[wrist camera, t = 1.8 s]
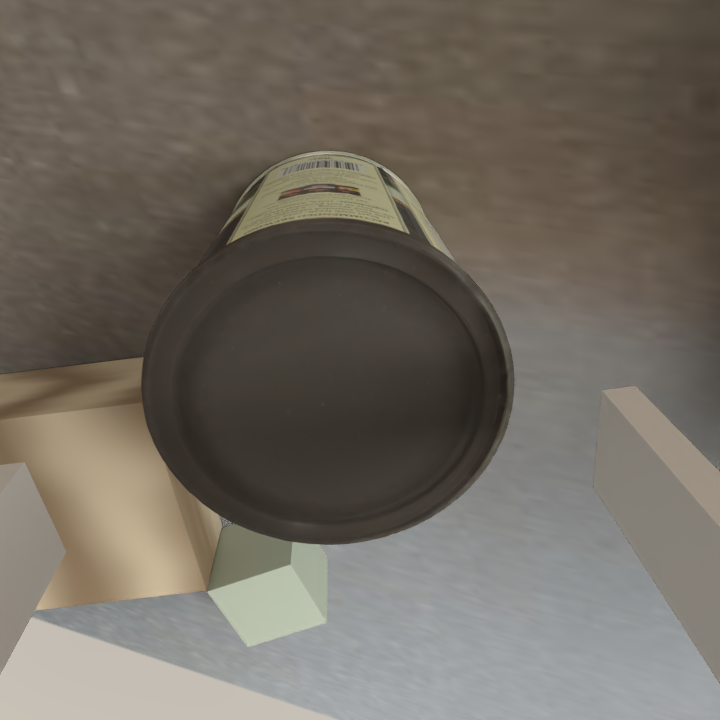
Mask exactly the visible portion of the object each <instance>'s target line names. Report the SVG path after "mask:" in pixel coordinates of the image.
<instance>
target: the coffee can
mask: <svg viewBox="0 0 720 720" xmlns="http://www.w3.org/2000/svg"><path fill="white" fill-rule="evenodd" d="M141 393H142V404H143V410H144V415H145V420H146V424H147V427H148V430H149V432H150V435H151V437H152V440H153V443H154V445H155V447H156V448H157V450H158V452H159V454H160V456H161V458H162V459H163V461H164V462H165V463H166V465H167V467H168V468H169V470H170V471H171V472H172V473H173V474H174V476H175V477H176V478H177V479H178V480H179V481H180V483H181V484H182V485H183V486H184V487H185V488H186V489H187V490H188V491H189V492H190V493H191V494H192V495H194V496H195V497H196V498H197V499H198V500H199V501H200V502H201V503H202V504H204V505H205V506H206V507H208V508H209V509H211V510H212V511H213V512H215V513H217V514H218V515H220V516H222V517H223V518H225V519H227V520H229V521H231V522H232V523H234V524H236V525H238V526H241V527H243V528H245V529H248V530H250V531H253V532H256V533H259V534H262V535H266V536H269V537H273V538H276V539H280V540H284V541H289V542H297V543H306V544H325V545H333V544H350V543H358V542H364V541H369V540H373V539H378V538H382V537H386V536H389V535H391V534H394V533H397V532H400V531H403V530H406V529H408V528H411V527H413V526H415V525H417V524H419V523H421V522H423V521H425V520H427V519H429V518H431V517H432V516H434V515H435V514H437V513H438V512H440V511H442V510H443V509H445V508H446V507H447V506H449V505H450V504H451V503H452V502H454V501H455V500H456V499H458V498H459V497H460V496H461V495H462V494H463V493H464V492H465V491H466V490H467V489H468V488H470V487H471V485H472V484H473V483H474V482H475V481H476V480H477V479H478V477H479V476H480V475H481V474H482V473H483V471H484V470H485V469H486V467H487V466H488V464H489V463H490V461H491V459H492V457H493V456H494V454H495V453H496V451H497V449H498V447H499V445H500V443H501V441H502V439H503V436H504V434H505V431H506V429H507V425H508V421H509V417H510V413H511V410H512V403H513V396H514V369H513V361H512V355H511V350H510V347H509V343H508V340H507V336H506V333H505V331H504V328H503V326H502V323H501V321H500V319H499V317H498V315H497V313H496V311H495V309H494V308H493V306H492V304H491V303H490V301H489V300H488V298H487V297H486V295H485V294H484V293H483V291H482V290H481V289H480V288H479V287H478V285H477V284H476V283H475V282H474V281H473V280H472V278H471V277H470V276H469V275H468V274H466V273H465V272H464V271H463V270H462V269H461V268H460V267H459V266H458V264H457V263H456V261H455V260H454V258H453V257H452V255H451V254H450V252H449V251H448V249H447V247H446V246H445V244H444V243H443V241H442V240H441V238H440V237H439V235H438V234H437V232H436V231H435V229H434V228H433V226H432V225H431V224H430V222H429V221H428V219H427V218H426V216H425V214H424V212H423V210H422V207H421V205H420V203H419V202H418V200H417V199H416V198H415V196H414V195H413V194H412V192H411V191H410V189H409V188H408V187H407V186H406V185H405V184H404V183H403V181H402V180H401V179H400V178H399V177H398V176H396V175H395V174H394V173H392V172H391V171H390V170H388V169H387V168H385V167H384V166H382V165H380V164H378V163H377V162H375V161H373V160H370V159H368V158H366V157H363V156H359V155H357V154H354V153H347V152H339V151H317V152H309V153H305V154H300V155H297V156H294V157H291V158H288V159H286V160H284V161H281V162H279V163H278V164H276V165H274V166H271V167H270V168H269V169H267V170H266V171H265V172H263V173H262V174H261V175H260V176H259V177H258V178H256V179H255V180H254V181H253V182H252V183H251V184H250V186H249V187H248V188H247V189H246V191H245V192H244V193H243V195H242V196H241V198H240V199H239V201H238V202H237V204H236V206H235V208H234V210H233V213H232V215H231V216H230V217H229V219H228V221H227V222H226V224H225V225H224V227H223V228H222V230H221V232H220V233H219V235H218V236H217V238H216V239H215V241H214V242H213V243H212V245H211V246H210V248H209V249H208V251H207V252H206V253H205V255H204V257H203V259H202V260H201V262H200V263H199V265H198V266H197V267H196V268H195V269H194V270H192V272H191V273H190V274H189V275H188V276H187V277H186V278H185V279H184V280H183V281H182V282H181V283H180V284H179V285H178V286H177V288H176V289H175V290H174V292H173V293H172V295H171V296H170V297H169V299H168V300H167V301H166V303H165V304H164V306H163V308H162V310H161V311H160V313H159V315H158V317H157V319H156V321H155V323H154V325H153V328H152V330H151V332H150V335H149V338H148V341H147V345H146V349H145V352H144V357H143V366H142V377H141Z"/></svg>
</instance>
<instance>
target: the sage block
mask: <svg viewBox="0 0 720 720" xmlns="http://www.w3.org/2000/svg"><path fill="white" fill-rule="evenodd" d="M207 592H208V594H209V595H210V597H211V598H212V599H213V601H214V602H215V603H216V605H217V606H218V607H219V609H220V610H221V611H222V613H223V614H224V615H225V617H226V618H227V619H228V621H229V622H230V624H231V625H232V626H233V628H234V629H235V630H236V632H237V633H238V634H239V636H240V637H241V638H242V640H243V641H244V642H245V644H246V645H247V647H250V646H254V645H257V644H260V643H263V642H266V641H270V640H273V639H276V638H279V637H283V636H286V635H289V634H292V633H295V632H299V631H302V630H305V629H308V628H311V627H315V626H318V625H321V624H324V623H327V557H326V555H325V553H324V551H323V550H322V548H321V546H320V544H306V543H297V542H289V541H284V540H280V539H276V538H273V537H269V536H266V535H262V534H259V533H256V532H253V531H250V530H248V529H245V528H243V527H241V526H238V525H236V524H232V525H229V526H226V527H223V528H222V531H221V535H220V539H219V543H218V548H217V552H216V556H215V560H214V564H213V569H212V573H211V577H210V581H209V586H208V590H207Z"/></svg>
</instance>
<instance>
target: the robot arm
mask: <svg viewBox="0 0 720 720" xmlns="http://www.w3.org/2000/svg"><path fill="white" fill-rule="evenodd" d="M593 487H594V489H595V490H596V492H597V493H598V495H599V496H600V498H601V500H602V501H603V503H604V504H605V506H606V507H607V509H608V510H609V512H610V514H611V515H612V517H613V518H614V520H615V521H616V523H617V524H618V526H619V528H620V529H621V531H622V532H623V534H624V535H625V537H626V539H627V540H628V542H629V543H630V545H631V546H632V548H633V549H634V551H635V553H636V554H637V556H638V557H639V559H640V560H641V562H642V563H643V565H644V567H645V568H646V570H647V571H648V573H649V574H650V576H651V577H652V579H653V581H654V582H655V584H656V585H657V587H658V588H659V590H660V592H661V593H662V595H663V596H664V598H665V599H666V601H667V602H668V604H669V606H670V607H671V609H672V610H673V612H674V613H675V615H676V616H677V618H678V620H679V621H680V623H681V624H682V626H683V627H684V629H685V630H686V632H687V634H688V635H689V637H690V638H691V640H692V641H693V643H694V645H695V646H696V648H697V649H698V651H699V652H700V654H701V655H702V657H703V659H704V660H705V662H706V663H707V665H708V666H709V668H710V669H711V671H712V673H713V674H714V676H715V677H716V679H717V680H718V682H719V683H720V472H719V471H718V470H717V469H716V468H715V467H714V466H713V465H712V464H711V463H710V461H709V460H708V459H707V458H706V457H705V456H704V455H703V454H702V453H701V452H700V451H699V450H698V449H697V448H696V447H695V446H694V445H693V444H692V443H691V442H690V441H689V440H688V439H687V438H686V437H685V436H684V435H683V434H682V433H681V432H680V431H679V430H678V429H677V428H676V427H675V426H674V425H673V424H672V423H671V422H670V421H669V420H668V419H667V418H666V417H665V416H664V415H663V414H662V412H661V411H660V410H659V409H658V408H657V407H656V406H655V405H654V404H653V403H652V402H651V401H650V400H649V399H648V398H647V397H646V396H645V395H644V394H643V393H642V392H641V391H640V390H639V389H638V388H637V387H636V386H631V387H623V388H615V389H607V390H602V392H601V403H600V414H599V426H598V437H597V448H596V459H595V470H594V481H593ZM65 553H66V550H65V548H64V545H63V543H62V541H61V539H60V537H59V535H58V533H57V530H56V528H55V526H54V524H53V522H52V520H51V518H50V515H49V513H48V511H47V509H46V507H45V505H44V503H43V500H42V498H41V496H40V494H39V492H38V490H37V488H36V486H35V483H34V481H33V479H32V477H31V475H30V473H29V471H28V468H27V466H26V464H25V462H21V463H13V464H5V465H0V674H1V672H2V670H3V668H4V667H5V665H6V663H7V661H8V659H9V657H10V655H11V653H12V652H13V650H14V648H15V646H16V644H17V642H18V641H19V639H20V637H21V635H22V633H23V631H24V629H25V627H26V626H27V624H28V622H29V620H30V618H31V616H32V615H33V613H34V611H35V609H36V607H37V605H38V603H39V602H40V600H41V598H42V596H43V594H44V592H45V590H46V589H47V587H48V585H49V583H50V581H51V579H52V577H53V576H54V574H55V572H56V570H57V568H58V566H59V564H60V563H61V561H62V559H63V557H64V555H65Z"/></svg>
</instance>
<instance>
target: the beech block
mask: <svg viewBox="0 0 720 720" xmlns="http://www.w3.org/2000/svg"><path fill="white" fill-rule="evenodd" d="M142 366H143V357H140V358H132V359H123V360H115V361H107V362H99V363H90V364H82V365H74V366H66V367H58V368H49V369H41V370H33V371H25V372H17V373H8V374H0V465H5V464H13V463H21V462H25V464H26V466H27V468H28V471H29V473H30V475H31V477H32V479H33V481H34V483H35V486H36V488H37V490H38V492H39V494H40V496H41V498H42V500H43V503H44V505H45V507H46V509H47V511H48V513H49V515H50V518H51V520H52V522H53V524H54V526H55V528H56V530H57V533H58V535H59V537H60V539H61V541H62V543H63V545H64V548H65V550H66V553H65V555H64V557H63V559H62V561H61V563H60V564H59V566H58V568H57V570H56V572H55V574H54V576H53V577H52V579H51V581H50V583H49V585H48V587H47V589H46V590H45V592H44V594H43V596H42V598H41V600H40V602H39V603H38V605H37V607H36V609H35V610H43V609H52V608H61V607H69V606H78V605H86V604H95V603H103V602H112V601H121V600H129V599H138V598H146V597H155V596H163V595H172V594H180V593H189V592H198V591H206V590H207V586H208V582H209V578H210V574H211V570H212V566H213V562H214V557H215V553H216V549H217V545H218V541H219V537H220V532H221V528H222V523H221V520H220V517H219V515H218V514H217V513H215V512H213V511H212V510H211V509H209V508H208V507H206V506H205V505H204V504H202V503H201V502H200V501H199V500H198V499H197V498H196V497H195V496H194V495H192V494H191V493H190V492H189V491H188V490H187V489H186V488H185V487H184V486H183V485H182V484H181V483H180V481H179V480H178V479H177V478H176V477H175V476H174V474H173V473H172V472H171V471H170V470H169V468H168V467H167V465H166V463H165V462H164V461H163V459H162V458H161V456H160V454H159V452H158V450H157V448H156V447H155V445H154V443H153V440H152V437H151V435H150V432H149V430H148V427H147V424H146V420H145V415H144V410H143V404H142V393H141V377H142Z"/></svg>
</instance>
